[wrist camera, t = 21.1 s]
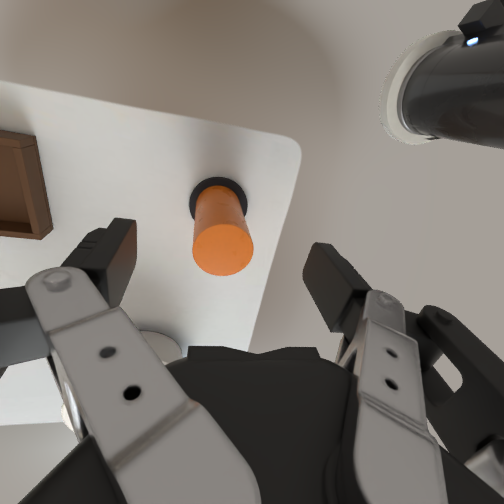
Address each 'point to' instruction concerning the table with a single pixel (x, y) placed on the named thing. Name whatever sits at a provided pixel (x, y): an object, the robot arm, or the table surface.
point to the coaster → (217, 182)
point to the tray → (22, 188)
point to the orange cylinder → (220, 233)
